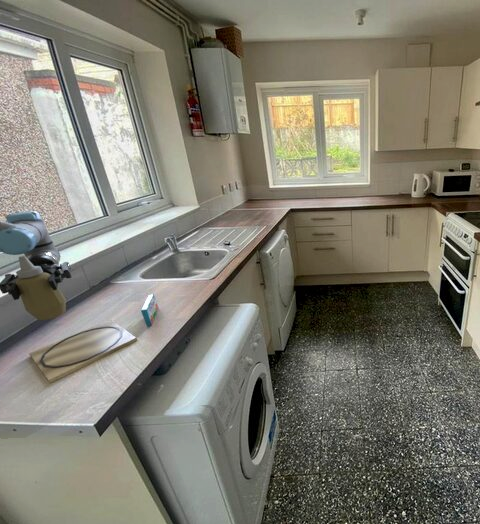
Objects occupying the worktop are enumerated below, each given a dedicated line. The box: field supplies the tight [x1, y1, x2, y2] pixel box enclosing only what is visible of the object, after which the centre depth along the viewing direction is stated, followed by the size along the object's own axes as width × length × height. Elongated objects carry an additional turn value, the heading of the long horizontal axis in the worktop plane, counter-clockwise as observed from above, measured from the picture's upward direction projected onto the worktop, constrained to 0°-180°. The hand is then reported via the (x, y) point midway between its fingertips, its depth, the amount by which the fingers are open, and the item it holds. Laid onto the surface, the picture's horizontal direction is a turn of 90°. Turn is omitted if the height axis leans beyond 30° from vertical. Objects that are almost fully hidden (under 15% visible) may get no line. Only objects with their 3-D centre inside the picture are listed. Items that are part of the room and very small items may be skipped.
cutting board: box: [29, 318, 138, 384], centre depth 86 cm, size 20×20×1 cm
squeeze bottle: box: [15, 255, 67, 321], centre depth 78 cm, size 8×8×18 cm
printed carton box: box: [140, 293, 160, 327], centre depth 99 cm, size 12×2×6 cm, turn 23°
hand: (34, 290), depth 74 cm, fingers closed on squeeze bottle, 6 cm apart
